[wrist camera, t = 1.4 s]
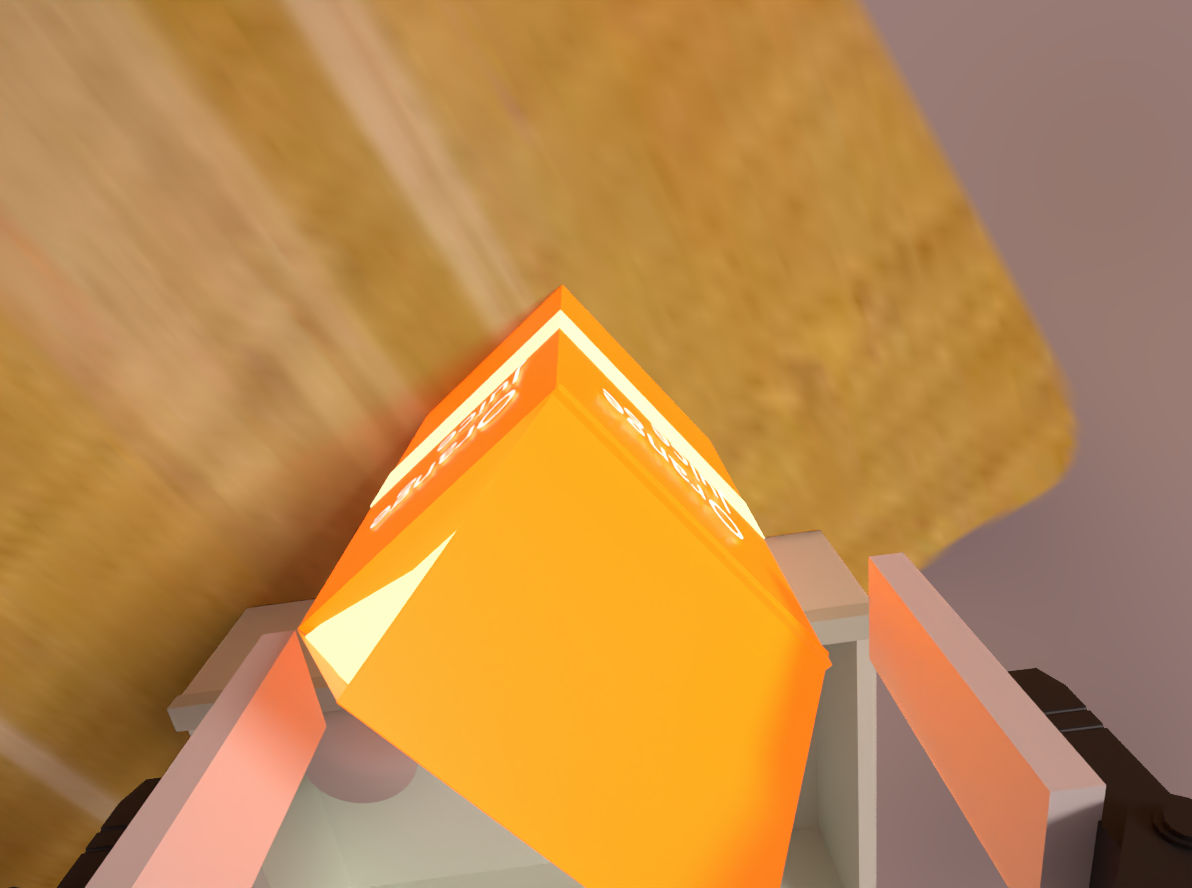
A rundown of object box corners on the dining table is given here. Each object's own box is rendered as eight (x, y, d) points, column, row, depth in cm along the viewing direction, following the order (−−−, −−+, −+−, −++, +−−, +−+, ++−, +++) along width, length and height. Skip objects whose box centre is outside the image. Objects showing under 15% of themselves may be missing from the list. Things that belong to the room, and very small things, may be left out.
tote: (346, 891, 37) (302, 1032, 31) (245, 605, 31) (166, 709, 25) (829, 828, 37) (881, 958, 31) (820, 527, 31) (882, 612, 25)
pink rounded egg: (353, 720, 33) (317, 810, 28) (327, 638, 31) (285, 719, 27) (448, 707, 33) (428, 795, 28) (428, 625, 31) (403, 703, 26)
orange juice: (563, 280, 27) (552, 503, 8) (714, 440, 29) (970, 896, 11) (422, 418, 29) (142, 866, 10) (575, 559, 31) (586, 1135, 12)
